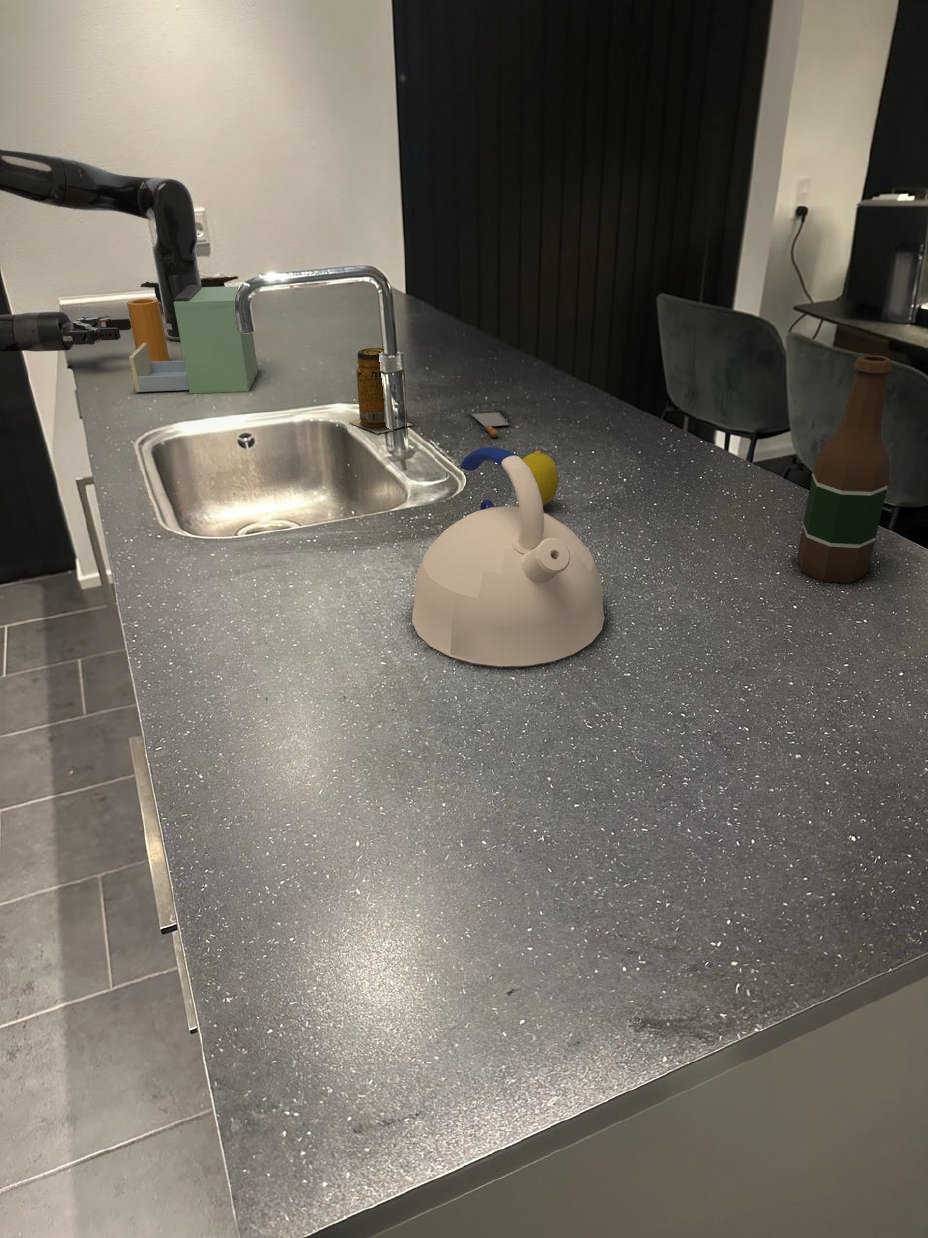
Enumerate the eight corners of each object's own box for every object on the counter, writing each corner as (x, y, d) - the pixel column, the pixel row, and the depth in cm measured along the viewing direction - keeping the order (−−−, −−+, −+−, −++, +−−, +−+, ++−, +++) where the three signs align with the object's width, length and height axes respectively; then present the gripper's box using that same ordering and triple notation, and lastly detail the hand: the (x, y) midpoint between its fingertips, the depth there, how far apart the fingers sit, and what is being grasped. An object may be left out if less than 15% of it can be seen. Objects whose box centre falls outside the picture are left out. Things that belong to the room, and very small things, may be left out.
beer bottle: (859, 591, 99) (909, 371, 87) (787, 574, 102) (826, 361, 90) (873, 563, 104) (922, 353, 92) (804, 548, 108) (843, 344, 96)
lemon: (529, 520, 117) (530, 461, 113) (508, 505, 121) (508, 448, 117) (565, 511, 119) (567, 453, 115) (543, 497, 123) (544, 441, 119)
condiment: (383, 414, 156) (379, 343, 150) (412, 425, 151) (409, 352, 144) (348, 423, 152) (342, 351, 146) (376, 435, 147) (371, 361, 141)
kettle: (458, 691, 84) (454, 512, 75) (385, 594, 100) (373, 437, 91) (644, 642, 90) (660, 472, 81) (546, 558, 107) (551, 409, 98)
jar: (143, 363, 189) (131, 298, 183) (172, 362, 190) (161, 297, 183) (137, 370, 184) (123, 304, 178) (166, 369, 184) (154, 303, 178)
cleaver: (498, 415, 156) (470, 417, 155) (498, 408, 156) (470, 410, 155) (520, 436, 145) (490, 439, 144) (520, 428, 144) (490, 431, 143)
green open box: (202, 373, 181) (188, 284, 173) (258, 371, 182) (246, 282, 173) (189, 393, 169) (173, 298, 161) (248, 391, 170) (235, 296, 161)
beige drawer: (149, 375, 180) (143, 342, 176) (204, 373, 180) (199, 340, 177) (135, 392, 170) (128, 357, 167) (194, 389, 170) (188, 354, 167)
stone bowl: (192, 321, 222) (183, 281, 218) (127, 318, 235) (117, 281, 231) (262, 301, 240) (255, 264, 235) (198, 300, 253) (190, 265, 248)
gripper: (26, 320, 174) (111, 317, 175) (50, 305, 186) (129, 302, 187) (36, 359, 178) (119, 356, 178) (59, 342, 190) (137, 339, 191)
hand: (124, 328), depth 183 cm, fingers open, 8 cm apart
